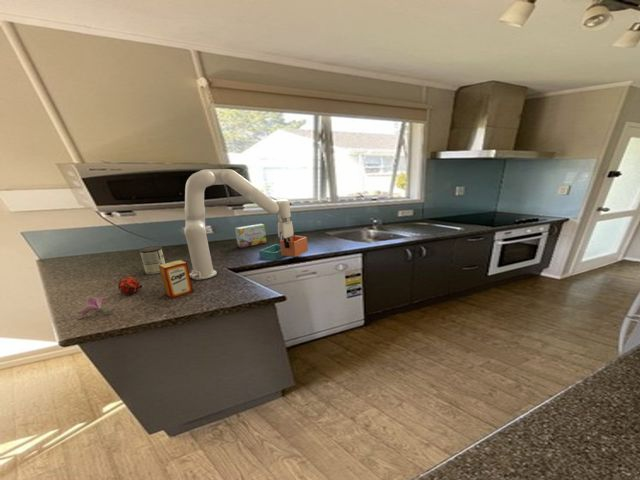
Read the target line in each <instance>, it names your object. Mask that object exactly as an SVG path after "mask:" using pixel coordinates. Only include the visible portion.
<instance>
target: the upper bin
mask: <svg viewBox="0 0 640 480" xmlns="http://www.w3.org/2000/svg"><path fill="white" fill-rule="evenodd" d="M288 242H289V248H285V245H284V242H283V241H281V240H280V239H279V245H280V246H281V255H285V256H284V257H294V258H296V257H299V256H301V255H303V254H304V253H306V252H308V251H309V247H308V246H309V245H308V237H307V236H302V235H295V234H293V237H292V238H291V241H288Z"/></svg>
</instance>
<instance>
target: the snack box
mask: <svg viewBox="0 0 640 480" xmlns="http://www.w3.org/2000/svg"><path fill="white" fill-rule="evenodd" d="M265 225H266V224H263V223H256V224H251V225H245V226H237V227H235V228H234V230H235V231H234V232H235V237H236V244H237V247H238V248H240V249H243V248H247V247H252V246H257V245H262V244H265V243H267V234H266V226H265Z"/></svg>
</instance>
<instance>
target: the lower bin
mask: <svg viewBox="0 0 640 480" xmlns="http://www.w3.org/2000/svg"><path fill="white" fill-rule="evenodd" d="M258 254H259V258H260V259H266V260H273V261H277V260H280V259H282V258H283V257H286V256H285V255H281V246H280V244H277V243H276V244H273V245H270V246H267V247H264V248H262V249H259V250H258Z"/></svg>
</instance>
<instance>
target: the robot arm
mask: <svg viewBox="0 0 640 480" xmlns="http://www.w3.org/2000/svg"><path fill="white" fill-rule="evenodd" d="M216 185H218V186H219V185H227V186H228V187H230V188H231V189H232V190H234V191H235V192H237V193H238V194H239V195H241V196H242V197H244V198H245V199H247V200H248V201H250V202H252V203H254V204H255V205H256V206H258V207H259V208H261V209H262V210H264V211H265V212H266V213H268V214H269V215H276V214H277V218H278V223H277V237H278V238H279V241H280V240H281V241H283V242H284V245H285V248H289V242H288V241H291V238H292V237H293V235H295V233H294V226H293V221H292V214H291V203H290V200H289V199H272V198H270V197H269V196H267V194H265V193H264V192H263V191H262V190H260V189H259V188H258V187H257V186H256V185H254V184H253V183H251V182H250V181H249V180H247V179H246V178H244V176H242V175H241V174H239V173H238V172H237V171H235V170H233V169H230V168H220V169H219V168H217V169H214V168H213V169H212V168H211V169H201V170H199V171H196V172H195V173H192V174H191V175H190V176H189V177H188V178H187V180H186V183H185V186H184V187H185V188H184V220H185V221H184V223H185V225H184V229H183V230H184V237H185V241H186V244H187V249H188V252H189V256H190V261H191V266H192V270H191V272H189V275H190V279H192V280H197V281H199V280H200V281H201V280H206V279H210V278H213V277H215V276H217V275H218V272H217V270H215V269H214V267H213V261H212V257H211V252H210V247H209V246H210V245H209V242H208V236H207V230H206V229H207V228H206V206H205V191H206V188H208V187H211V186H216Z"/></svg>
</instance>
